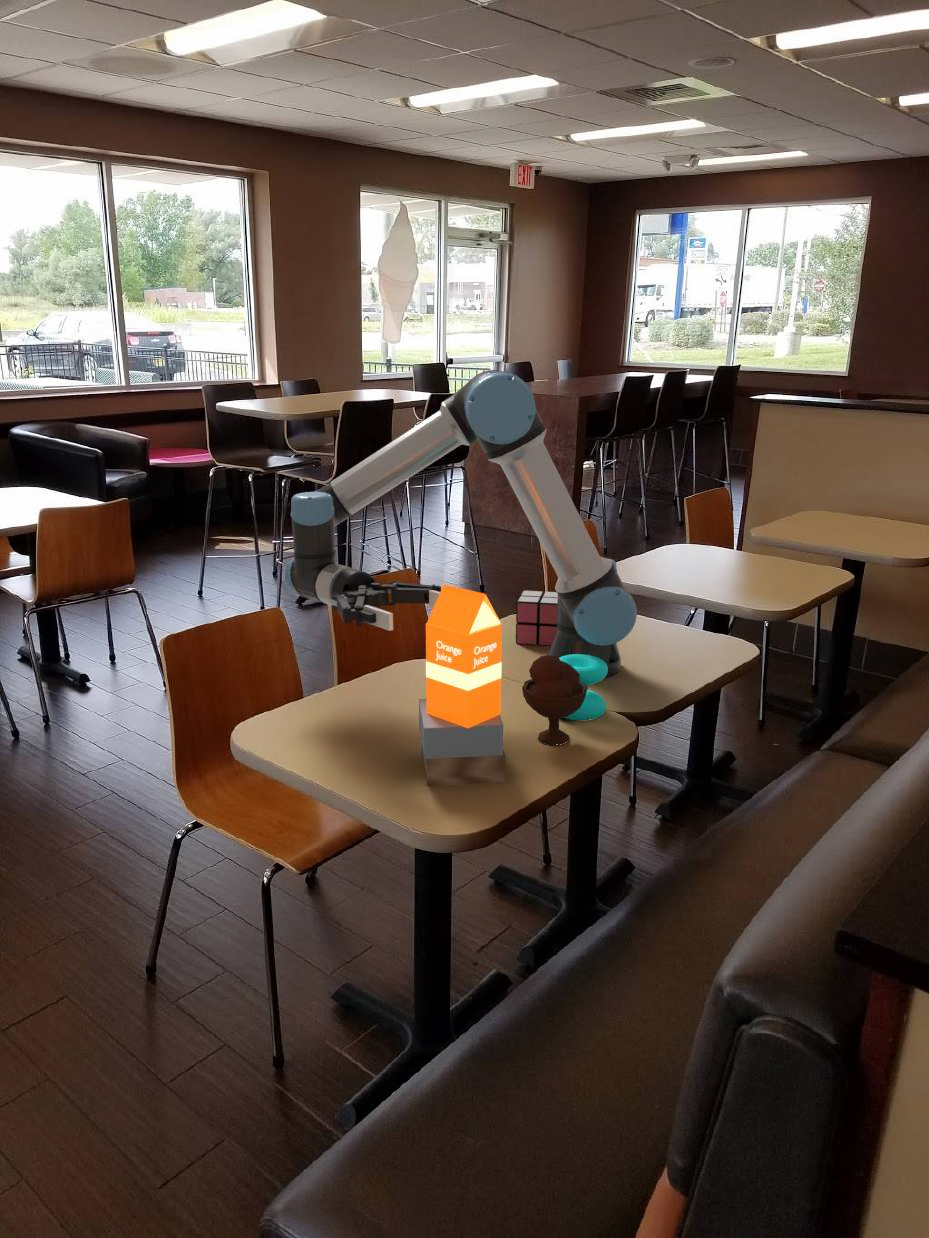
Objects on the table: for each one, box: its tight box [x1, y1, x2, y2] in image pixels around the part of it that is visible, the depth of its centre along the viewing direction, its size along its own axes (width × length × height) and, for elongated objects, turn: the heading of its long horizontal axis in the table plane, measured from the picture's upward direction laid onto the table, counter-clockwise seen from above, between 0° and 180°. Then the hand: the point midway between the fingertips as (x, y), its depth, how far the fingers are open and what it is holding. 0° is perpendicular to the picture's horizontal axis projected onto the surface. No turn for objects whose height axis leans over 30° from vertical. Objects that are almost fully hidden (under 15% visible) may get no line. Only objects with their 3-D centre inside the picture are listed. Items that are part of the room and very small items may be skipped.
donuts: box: [559, 654, 608, 721], centre depth 168 cm, size 10×10×10 cm
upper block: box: [418, 698, 504, 759], centre depth 146 cm, size 12×12×5 cm
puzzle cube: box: [515, 590, 558, 647], centre depth 210 cm, size 10×10×10 cm
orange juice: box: [425, 583, 503, 728], centre depth 141 cm, size 8×9×20 cm
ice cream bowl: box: [521, 654, 589, 746], centre depth 156 cm, size 11×11×15 cm
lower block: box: [421, 747, 506, 787], centre depth 148 cm, size 12×12×5 cm
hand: (424, 613), depth 149 cm, fingers open, 13 cm apart
